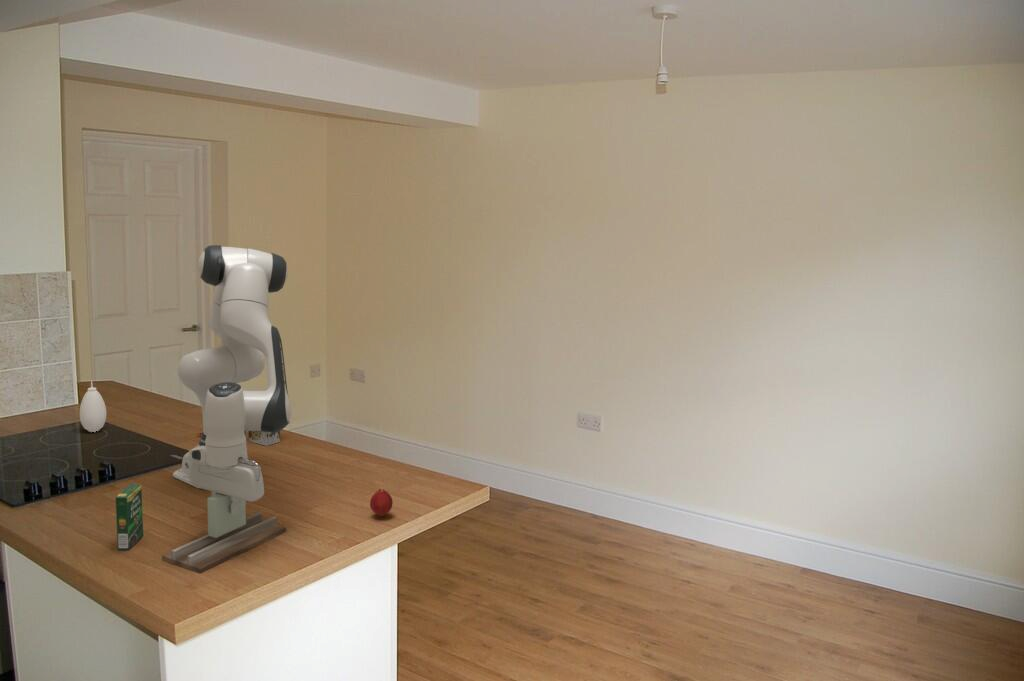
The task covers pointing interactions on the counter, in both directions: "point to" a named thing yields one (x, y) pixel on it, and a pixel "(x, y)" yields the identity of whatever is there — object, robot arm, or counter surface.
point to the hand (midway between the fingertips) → (227, 511)
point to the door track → (224, 544)
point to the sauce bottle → (92, 410)
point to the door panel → (224, 515)
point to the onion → (381, 502)
